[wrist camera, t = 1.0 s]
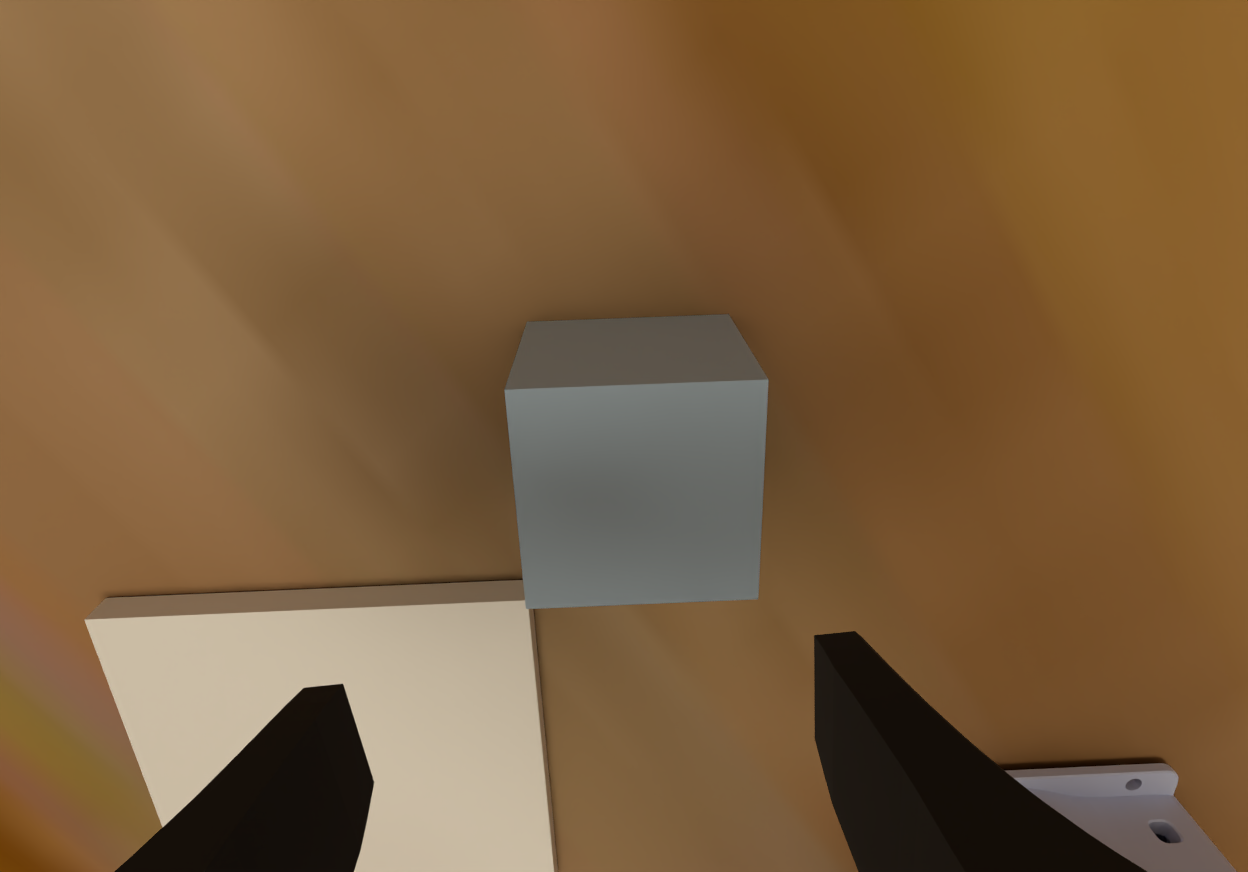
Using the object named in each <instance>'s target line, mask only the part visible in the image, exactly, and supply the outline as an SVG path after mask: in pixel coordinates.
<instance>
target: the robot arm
mask: <svg viewBox="0 0 1248 872" xmlns="http://www.w3.org/2000/svg"><path fill="white" fill-rule="evenodd" d="M814 657H815V741H816V745H817V748H818V752H819V756H820V760H821V764H822V768H823V771H824V775H825V779H826V782H827V786H828V790H829V793H830V797H831V800H832V804H833V807H834V809H835V812H836V814H837V817H838V820H839V822H840V825H841V827H842V830H843V833H844V835H845V838H846V840H847V843H848V846H849V848H850V851H851V853H852V856H853V858H854V861H855V863H856V866H857V869H858V871H859V872H1237V871H1236V870H1235V869H1234V868H1233V866H1232V865H1231V864H1230V863H1229V862H1228V860H1227V859H1226V858H1225V857H1224V856H1223V854H1222V853H1221V852H1220V851H1219V850H1218V848H1217V847H1216V846H1215V845H1214V843H1213V842H1212V841H1211V840H1210V839H1209V837H1208V836H1207V835H1206V834H1205V833H1204V831H1203V830H1202V829H1201V828H1200V827H1199V825H1198V824H1197V823H1196V822H1195V821H1194V819H1193V818H1192V817H1191V816H1190V815H1189V813H1188V812H1187V811H1186V810H1185V808H1184V807H1183V806H1182V805H1181V804H1180V802H1179V801H1178V800H1177V799H1176V798H1175V796H1173V795H1174V792H1175V789H1176V786H1177V783H1178V775H1177V773H1176V772H1175V771H1174V770H1173V769H1172V768H1171V766H1169V765H1167V764H1163V763H1152V764H1131V765H1110V766H1089V767H1068V768H1047V769H1026V770H1005V771H1004V770H1003V769H1002V768H1001V767H999V766H998V765H997V764H996V763H995V762H993V761H992V760H991V759H990V758H989V757H987V756H986V755H985V754H984V753H983V752H981V751H980V750H979V749H978V748H977V747H976V746H974V745H973V744H972V743H971V742H970V741H969V740H968V739H966V738H965V737H964V736H963V735H962V734H961V733H960V732H959V731H957V730H956V729H955V728H954V727H953V726H952V725H951V724H950V723H949V722H948V721H947V720H945V719H944V718H943V717H942V716H941V715H940V714H939V713H938V712H937V711H936V710H935V709H933V708H932V707H931V706H930V705H929V704H928V703H927V702H926V701H925V700H924V699H923V698H922V697H921V696H920V695H919V694H918V693H917V692H915V691H914V690H913V689H912V688H911V687H910V686H909V685H908V684H907V683H906V682H905V681H904V680H903V679H902V678H901V677H900V676H899V675H898V674H897V673H896V672H895V671H894V670H893V669H892V668H891V667H890V666H889V665H888V664H887V663H886V662H885V661H884V660H883V659H882V657H881V656H880V655H879V654H878V653H877V652H876V651H875V650H874V649H873V648H872V647H871V646H870V645H869V644H868V643H867V642H866V641H865V640H864V639H863V638H862V637H861V636H860V635H859V634H857V633H856V632H855V631H853V632H843V633H833V634H823V635H814ZM373 787H374V780H373V777H372V774H371V770H370V767H369V764H368V761H367V758H366V754H365V751H364V748H363V745H362V742H361V739H360V735H359V732H358V729H357V726H356V723H355V720H354V716H353V713H352V710H351V707H350V704H349V701H348V697H347V694H346V691H345V688H344V685H343V684H335V685H325V686H316V687H306V688H303V689H302V690H301V691H300V692H299V693H298V694H297V695H296V696H295V697H294V698H293V699H292V700H291V701H289V702H288V703H287V704H286V705H285V706H284V707H283V709H282V710H281V711H280V712H279V713H278V714H277V715H276V716H275V717H274V718H273V719H272V720H271V721H270V722H269V723H268V724H267V725H266V726H265V727H264V728H263V729H262V730H261V731H260V732H259V733H258V734H257V735H256V736H255V737H254V738H253V739H252V740H251V741H250V742H249V743H248V744H247V745H246V746H245V747H244V748H243V749H242V751H241V752H240V753H239V754H238V755H237V756H236V757H235V758H234V759H233V760H232V761H231V762H230V763H229V764H228V765H227V766H226V767H225V768H224V769H223V770H222V771H221V772H220V773H219V774H218V775H217V776H216V777H215V778H214V779H213V780H212V781H211V782H210V783H209V784H208V785H207V786H206V787H205V788H204V789H203V790H202V791H201V792H200V793H199V794H198V795H197V796H196V797H195V798H194V799H193V800H192V801H190V802H189V803H188V804H187V805H186V806H185V807H184V808H183V809H182V810H181V811H180V812H179V813H178V814H177V815H175V816H174V817H173V818H172V819H171V820H170V821H169V822H168V823H167V824H166V825H165V826H164V827H163V828H162V829H160V830H159V831H158V832H157V833H156V834H155V835H154V836H153V837H152V838H151V839H150V840H149V841H148V842H147V843H145V844H144V845H143V846H142V847H141V848H140V849H139V850H138V851H137V852H136V853H135V854H134V855H133V856H132V857H130V858H129V859H128V860H127V861H126V862H125V863H124V864H123V865H121V866H120V867H119V868H118V869H117V870H116V871H115V872H354V870H355V867H356V864H357V860H358V857H359V854H360V851H361V846H362V842H363V837H364V833H365V828H366V823H367V819H368V813H369V808H370V803H371V797H372V792H373Z"/></svg>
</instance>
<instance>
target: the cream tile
mask: <svg viewBox="0 0 1248 872" xmlns="http://www.w3.org/2000/svg"><path fill="white" fill-rule="evenodd" d="M85 623H86V625H87V628H88V631H89V633H90V636H91V639H92V641H93V644H94V647H95V649H96V652H97V655H98V657H99V660H100V663H101V665H102V668H103V670H104V673H105V676H106V678H107V681H108V684H109V686H110V689H111V692H112V694H113V697H114V700H115V702H116V705H117V708H118V710H119V713H120V716H121V718H122V721H123V724H124V726H125V729H126V731H127V734H128V737H129V739H130V742H131V745H132V747H133V750H134V753H135V755H136V758H137V761H138V763H139V766H140V769H141V771H142V774H143V777H144V779H145V782H146V784H147V787H148V790H149V792H150V795H151V798H152V800H153V803H154V806H155V808H156V811H157V814H158V816H159V819H160V822H161V824H162V827H164V826H165V825H166V824H167V823H168V822H169V821H170V820H171V819H172V818H173V817H174V816H175V815H177V814H178V813H179V812H180V811H181V810H182V809H183V808H184V807H185V806H186V805H187V804H188V803H189V802H190V801H192V800H193V799H194V798H195V797H196V796H197V795H198V794H199V793H200V792H201V791H202V790H203V789H204V788H205V787H206V786H207V785H208V784H209V783H210V782H211V781H212V780H213V779H214V778H215V777H216V776H217V775H218V774H219V773H220V772H221V771H222V770H223V769H224V768H225V767H226V766H227V765H228V764H229V763H230V762H231V761H232V760H233V759H234V758H235V757H236V756H237V755H238V754H239V753H240V752H241V751H242V749H243V748H244V747H245V746H246V745H247V744H248V743H249V742H250V741H251V740H252V739H253V738H254V737H255V736H256V735H257V734H258V733H259V732H260V731H261V730H262V729H263V728H264V727H265V726H266V725H267V724H268V723H269V722H270V721H271V720H272V719H273V718H274V717H275V716H276V715H277V714H278V713H279V712H280V711H281V710H282V709H283V707H284V706H285V705H286V704H287V703H288V702H289V701H291V700H292V699H293V698H294V697H295V696H296V695H297V694H298V693H299V692H300V691H301V690H302V689H303V688H306V687H316V686H325V685H335V684H343V685H344V688H345V691H346V694H347V697H348V701H349V704H350V707H351V710H352V713H353V716H354V720H355V723H356V726H357V729H358V732H359V735H360V739H361V742H362V745H363V748H364V751H365V754H366V758H367V761H368V764H369V767H370V770H371V774H372V777H373V780H374V787H373V792H372V797H371V803H370V808H369V813H368V819H367V823H366V828H365V833H364V837H363V842H362V846H361V851H360V854H359V857H358V860H357V864H356V867H355V870H354V872H558V865H557V854H556V844H555V833H554V822H553V812H552V801H551V791H550V780H549V769H548V759H547V748H546V738H545V727H544V716H543V706H542V695H541V685H540V674H539V663H538V653H537V642H536V631H535V621H534V610H533V609H526V605H525V595H524V585H523V580H508V581H485V582H462V583H439V584H415V585H392V586H369V587H346V588H323V589H300V590H277V591H254V592H231V593H207V594H184V595H161V596H138V597H115V598H105V599H104V600H103V601H102V602H101V603H100V604H99V605H98V606H97V607H96V608H95V609H94V610H93V611H92V612H91V613H90V614H89V615H88V616H87V617H86V619H85Z"/></svg>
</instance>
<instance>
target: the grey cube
mask: <svg viewBox="0 0 1248 872" xmlns="http://www.w3.org/2000/svg"><path fill="white" fill-rule="evenodd" d="M504 390H505V401H506V411H507V421H508V431H509V442H510V452H511V462H512V472H513V482H514V493H515V503H516V513H517V523H518V534H519V544H520V554H521V564H522V574H523V585H524V595H525V605H526V609H539V608H562V607H586V606H609V605H633V604H656V603H680V602H704V601H727V600H751V599H758V594H759V572H760V551H761V529H762V508H763V487H764V465H765V444H766V422H767V401H768V378H767V376H766V375H765V373H764V371H763V370H762V368H761V366H760V365H759V363H758V361H757V360H756V358H755V357H754V355H753V353H752V352H751V350H750V348H749V347H748V345H747V343H746V342H745V340H744V338H743V337H742V335H741V334H740V332H739V330H738V329H737V327H736V325H735V324H734V322H733V320H732V319H731V317H730V315H729V314H720V315H693V316H666V317H640V318H613V319H586V320H560V321H533V322H527V323H526V326H525V329H524V332H523V335H522V338H521V341H520V344H519V347H518V350H517V353H516V356H515V359H514V362H513V365H512V368H511V371H510V374H509V377H508V380H507V383H506V386H505V389H504Z"/></svg>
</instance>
